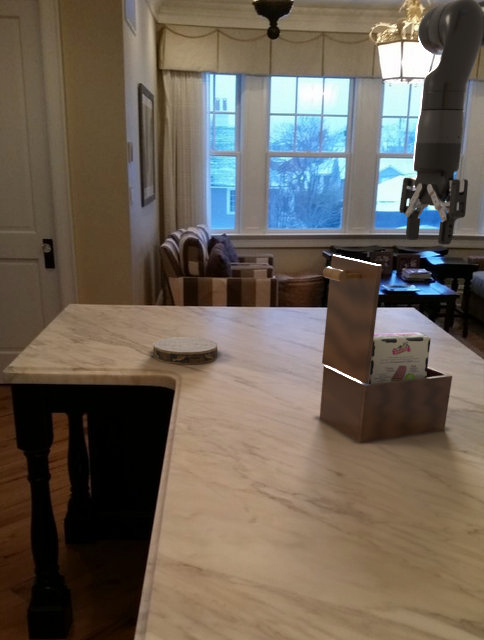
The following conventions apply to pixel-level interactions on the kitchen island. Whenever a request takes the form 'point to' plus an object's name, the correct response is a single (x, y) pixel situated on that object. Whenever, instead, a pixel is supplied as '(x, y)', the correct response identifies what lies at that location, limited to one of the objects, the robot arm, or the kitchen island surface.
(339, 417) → the chest
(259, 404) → the kitchen island surface
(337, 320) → the lid
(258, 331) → the kitchen island surface
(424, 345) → the candy bar box
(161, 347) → the grey round disc
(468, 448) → the kitchen island surface
